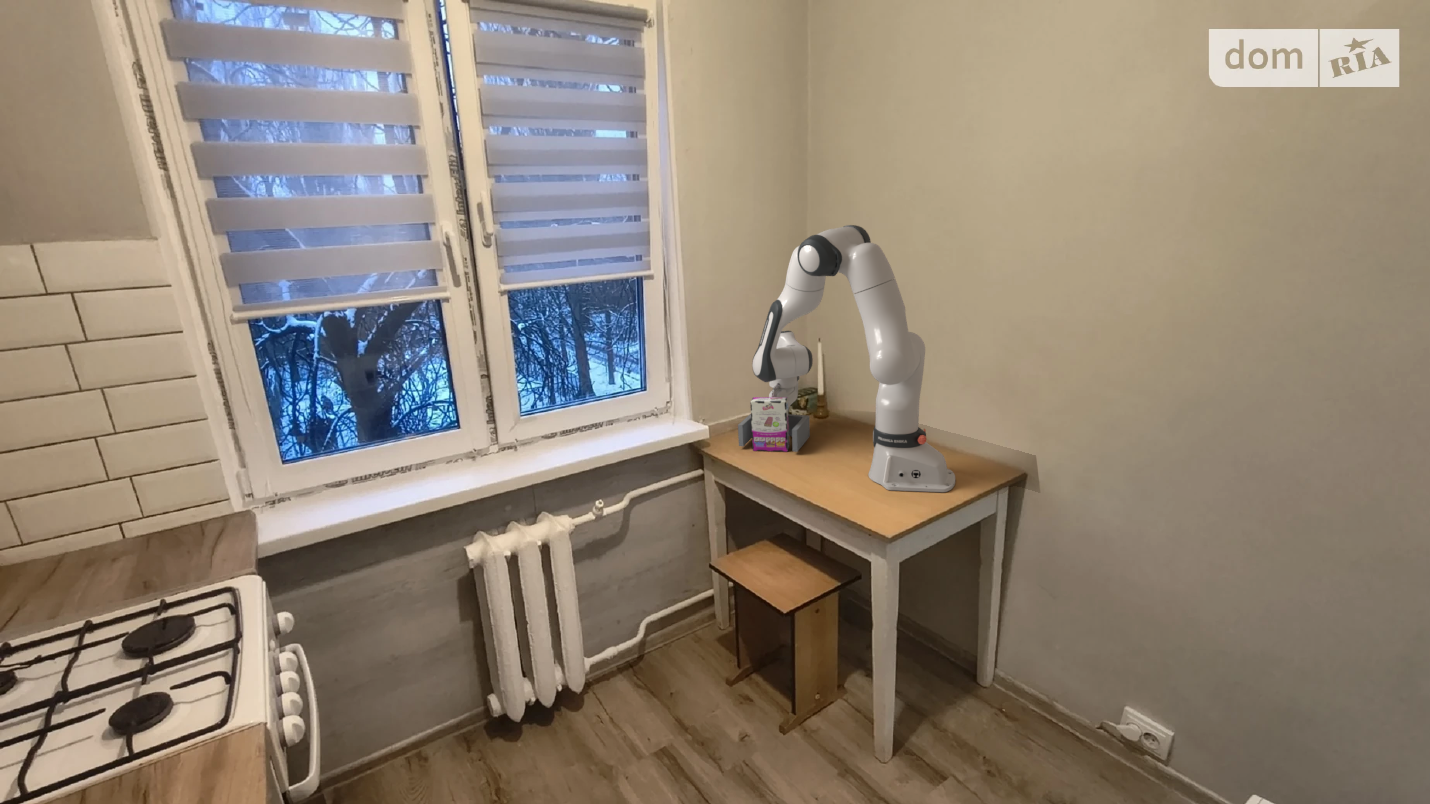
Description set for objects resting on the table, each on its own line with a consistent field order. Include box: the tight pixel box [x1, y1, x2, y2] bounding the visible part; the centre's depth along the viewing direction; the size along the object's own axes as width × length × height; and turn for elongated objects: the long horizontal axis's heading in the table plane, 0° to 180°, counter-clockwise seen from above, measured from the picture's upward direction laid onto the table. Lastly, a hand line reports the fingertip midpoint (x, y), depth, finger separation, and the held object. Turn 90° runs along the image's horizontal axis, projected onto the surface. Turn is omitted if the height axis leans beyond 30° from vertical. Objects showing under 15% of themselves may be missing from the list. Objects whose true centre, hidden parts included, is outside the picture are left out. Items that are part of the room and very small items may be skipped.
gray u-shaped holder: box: [737, 413, 811, 453], centre depth 201 cm, size 19×14×8 cm
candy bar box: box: [750, 396, 790, 453], centre depth 197 cm, size 11×5×16 cm, turn 77°
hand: (783, 420), depth 209 cm, fingers closed
